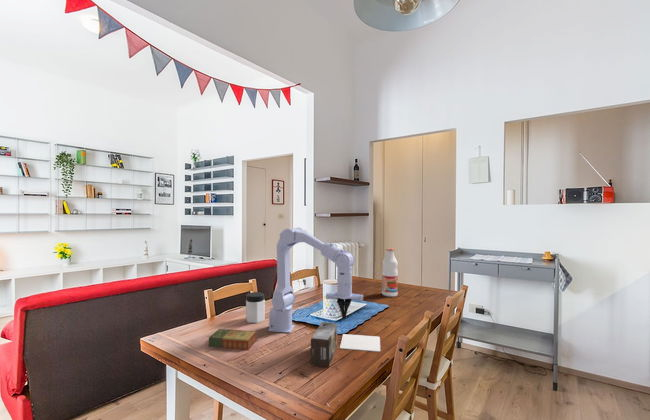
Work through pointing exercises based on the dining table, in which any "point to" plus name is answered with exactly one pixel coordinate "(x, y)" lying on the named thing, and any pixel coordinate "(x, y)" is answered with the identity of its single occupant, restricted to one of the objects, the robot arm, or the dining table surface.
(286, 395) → the dining table surface
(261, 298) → the jar
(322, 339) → the coffee box
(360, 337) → the mat
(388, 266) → the fruit juice
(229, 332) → the carton
